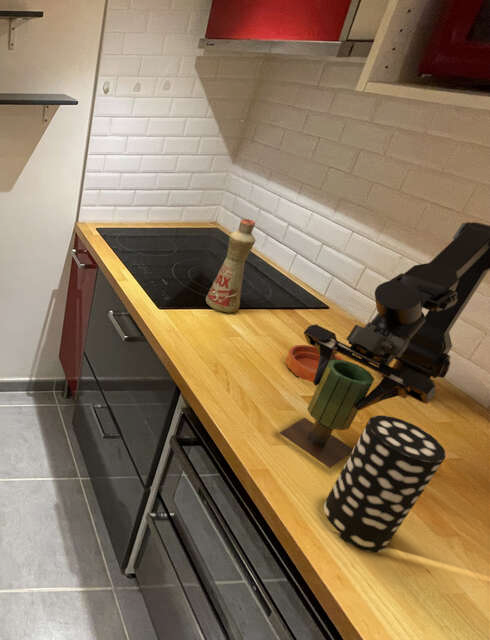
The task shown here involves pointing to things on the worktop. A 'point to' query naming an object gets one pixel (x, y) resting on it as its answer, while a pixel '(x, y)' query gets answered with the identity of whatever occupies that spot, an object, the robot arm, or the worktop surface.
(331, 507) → the spotted tube
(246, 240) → the bottle
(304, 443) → the post stand
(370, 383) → the green tube
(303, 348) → the dish
